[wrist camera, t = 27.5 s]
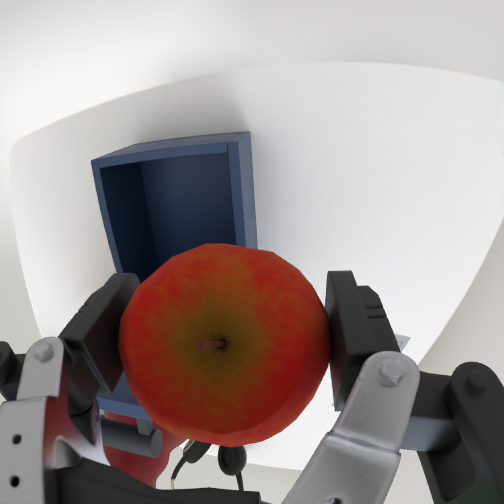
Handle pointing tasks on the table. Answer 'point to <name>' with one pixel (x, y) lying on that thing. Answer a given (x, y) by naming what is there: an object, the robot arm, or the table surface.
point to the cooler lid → (124, 434)
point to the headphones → (228, 459)
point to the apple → (225, 344)
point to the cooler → (175, 198)
